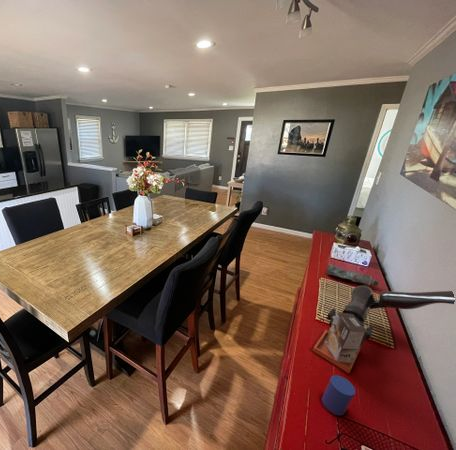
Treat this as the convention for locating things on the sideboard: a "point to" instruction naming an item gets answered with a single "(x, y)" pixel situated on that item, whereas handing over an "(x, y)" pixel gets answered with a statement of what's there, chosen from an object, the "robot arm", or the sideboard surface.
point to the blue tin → (338, 395)
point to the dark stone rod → (350, 275)
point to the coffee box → (345, 337)
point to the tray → (326, 353)
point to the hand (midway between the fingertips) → (343, 332)
